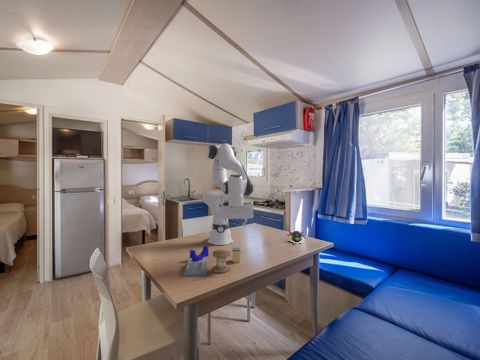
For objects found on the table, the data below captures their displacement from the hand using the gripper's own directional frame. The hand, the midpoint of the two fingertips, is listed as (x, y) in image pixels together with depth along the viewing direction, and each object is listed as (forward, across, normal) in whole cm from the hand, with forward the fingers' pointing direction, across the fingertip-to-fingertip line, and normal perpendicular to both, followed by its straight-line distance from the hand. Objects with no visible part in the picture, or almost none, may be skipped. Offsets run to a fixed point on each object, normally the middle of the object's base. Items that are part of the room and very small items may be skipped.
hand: (235, 226), depth 131 cm
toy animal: (+20, -49, -32) cm, 62 cm away
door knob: (+20, +9, +10) cm, 25 cm away
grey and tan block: (+20, 0, -1) cm, 20 cm away
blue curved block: (+20, +21, -8) cm, 30 cm away
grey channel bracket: (+20, +22, +8) cm, 31 cm away
